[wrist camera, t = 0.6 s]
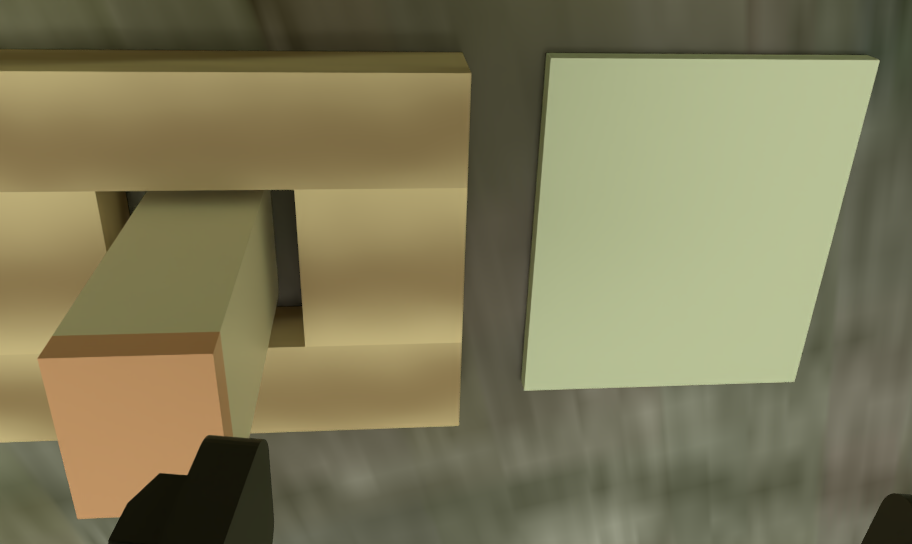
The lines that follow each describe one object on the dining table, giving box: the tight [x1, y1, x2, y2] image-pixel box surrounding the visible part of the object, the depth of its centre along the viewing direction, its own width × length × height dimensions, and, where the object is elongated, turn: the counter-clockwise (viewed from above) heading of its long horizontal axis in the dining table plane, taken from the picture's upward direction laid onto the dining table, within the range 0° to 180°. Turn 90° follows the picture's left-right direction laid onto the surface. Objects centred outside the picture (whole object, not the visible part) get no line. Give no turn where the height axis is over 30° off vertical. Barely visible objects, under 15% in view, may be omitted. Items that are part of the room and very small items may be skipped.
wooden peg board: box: [0, 49, 471, 442], centre depth 29 cm, size 14×18×3 cm
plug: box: [37, 190, 279, 519], centre depth 26 cm, size 5×4×12 cm
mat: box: [521, 53, 880, 391], centre depth 32 cm, size 14×12×1 cm
